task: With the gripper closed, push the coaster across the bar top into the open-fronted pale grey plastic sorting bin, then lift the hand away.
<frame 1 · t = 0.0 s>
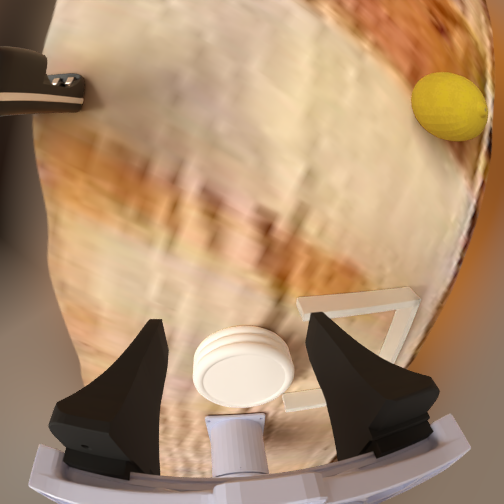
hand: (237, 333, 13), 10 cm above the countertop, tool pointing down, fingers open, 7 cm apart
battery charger: (55, 90, 15), on the countertop
lemon: (416, 105, 18), on the countertop
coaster: (241, 357, 28), on the countertop
sorting bin: (340, 349, 29), on the countertop
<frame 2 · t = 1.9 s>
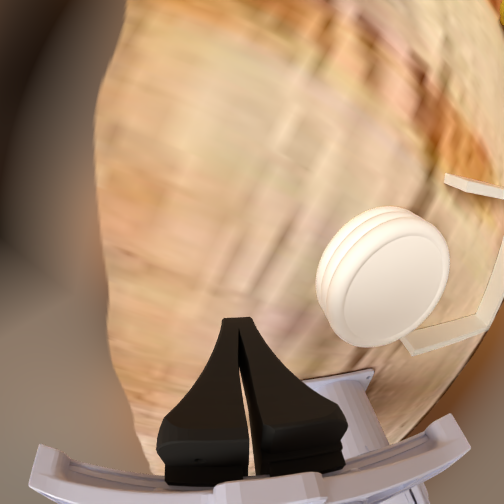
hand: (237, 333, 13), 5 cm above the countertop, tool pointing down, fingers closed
lemon: (499, 22, 10), on the countertop
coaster: (374, 267, 19), on the countertop
sorting bin: (467, 263, 20), on the countertop
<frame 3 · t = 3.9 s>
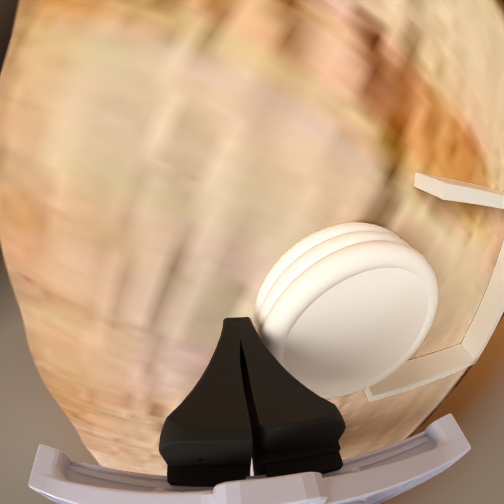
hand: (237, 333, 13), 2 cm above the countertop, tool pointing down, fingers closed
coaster: (338, 299, 16), on the countertop, touching gripper
sorting bin: (449, 288, 16), on the countertop
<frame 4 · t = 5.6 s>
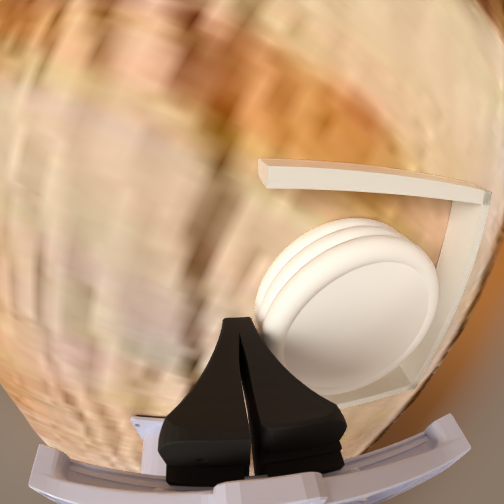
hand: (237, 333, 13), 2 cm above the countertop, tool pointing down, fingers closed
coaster: (338, 296, 16), on the countertop, touching gripper
sorting bin: (355, 301, 16), on the countertop
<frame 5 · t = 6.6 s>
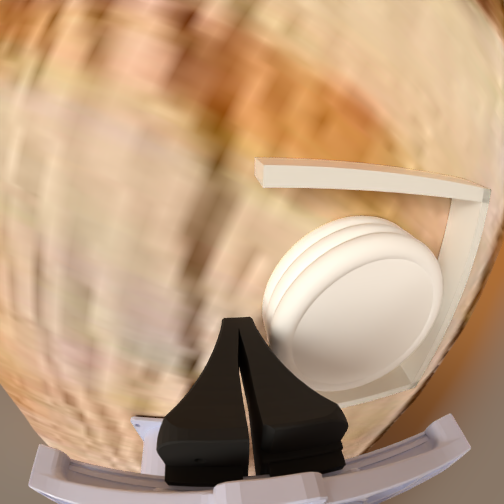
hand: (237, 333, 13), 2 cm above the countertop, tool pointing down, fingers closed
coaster: (344, 292, 16), on the countertop
sorting bin: (354, 300, 15), on the countertop
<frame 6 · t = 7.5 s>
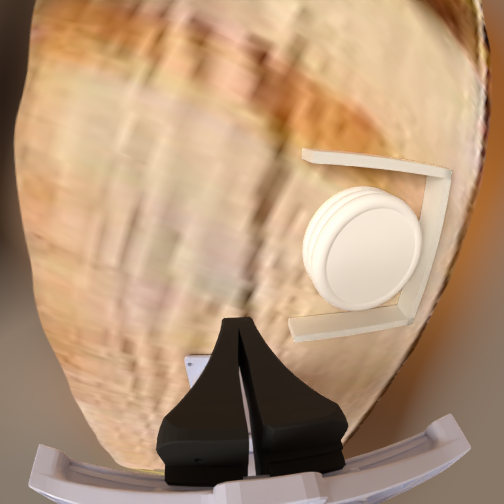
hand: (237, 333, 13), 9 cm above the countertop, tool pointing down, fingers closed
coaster: (355, 240, 23), on the countertop
sorting bin: (362, 245, 23), on the countertop
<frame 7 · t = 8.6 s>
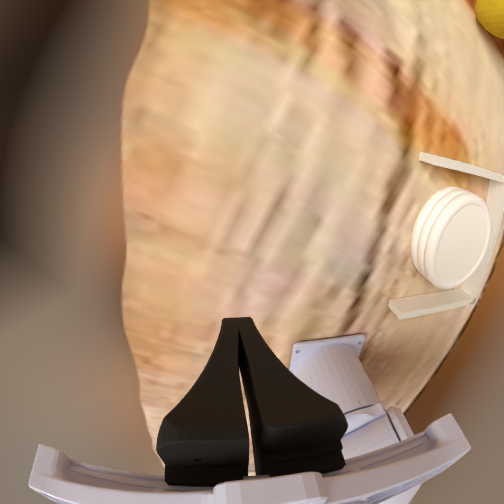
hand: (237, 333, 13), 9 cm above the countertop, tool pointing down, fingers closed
lemon: (476, 19, 13), on the countertop
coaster: (442, 231, 24), on the countertop
sorting bin: (447, 235, 23), on the countertop
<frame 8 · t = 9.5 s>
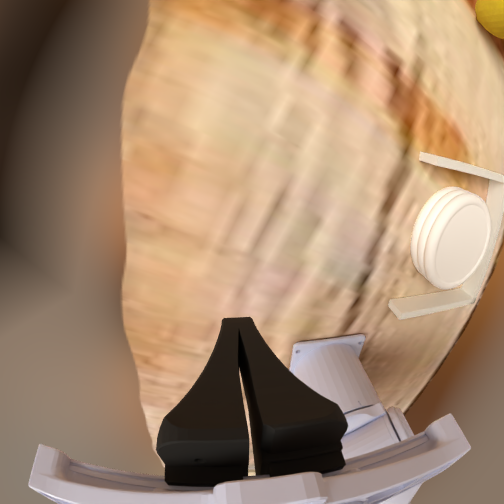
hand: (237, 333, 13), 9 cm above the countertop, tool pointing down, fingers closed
lemon: (476, 19, 13), on the countertop
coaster: (442, 231, 24), on the countertop
sorting bin: (447, 235, 23), on the countertop
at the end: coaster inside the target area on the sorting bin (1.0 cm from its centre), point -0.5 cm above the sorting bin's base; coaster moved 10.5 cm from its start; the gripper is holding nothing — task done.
